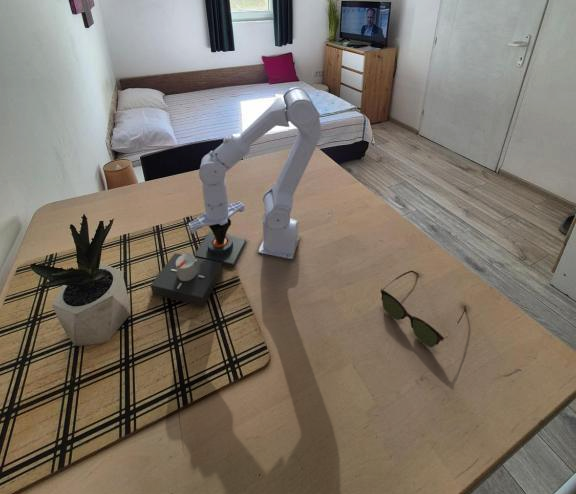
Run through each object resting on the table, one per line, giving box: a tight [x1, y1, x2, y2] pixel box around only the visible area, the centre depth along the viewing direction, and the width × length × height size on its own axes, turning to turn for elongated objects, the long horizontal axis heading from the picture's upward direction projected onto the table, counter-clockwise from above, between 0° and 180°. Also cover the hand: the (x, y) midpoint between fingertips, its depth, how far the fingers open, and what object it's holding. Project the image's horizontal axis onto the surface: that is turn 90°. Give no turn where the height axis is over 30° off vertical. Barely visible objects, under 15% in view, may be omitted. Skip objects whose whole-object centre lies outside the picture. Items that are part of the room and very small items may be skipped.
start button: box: [213, 238, 227, 248], centre depth 87 cm, size 4×4×2 cm
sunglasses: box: [380, 270, 467, 348], centre depth 72 cm, size 14×15×5 cm
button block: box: [193, 231, 247, 268], centre depth 87 cm, size 11×9×3 cm
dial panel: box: [150, 252, 224, 308], centre depth 77 cm, size 13×10×3 cm
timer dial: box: [176, 253, 197, 281], centre depth 76 cm, size 4×4×4 cm
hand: (220, 241), depth 86 cm, fingers closed, pressing on start button
